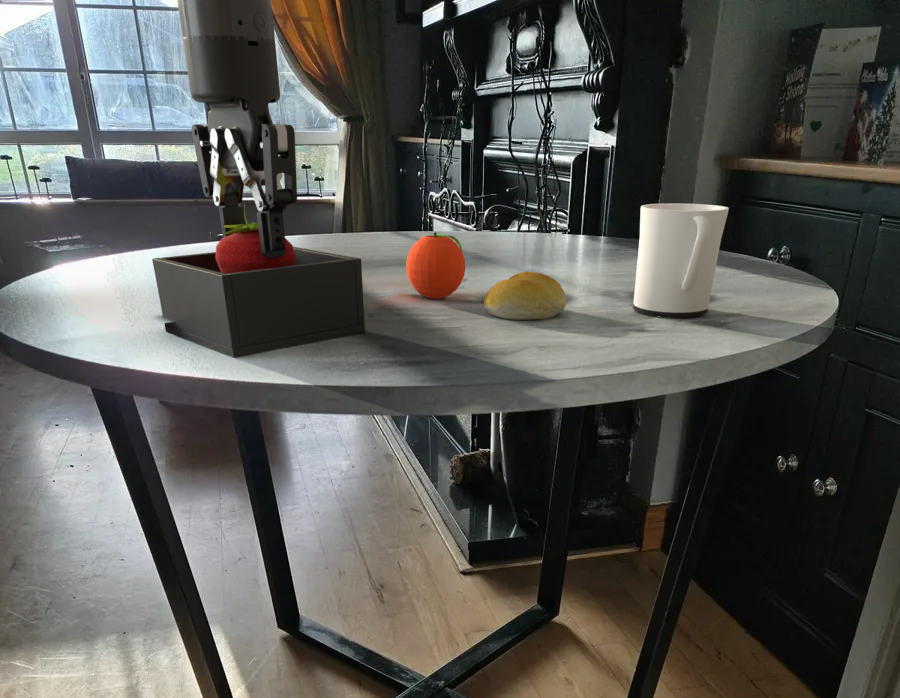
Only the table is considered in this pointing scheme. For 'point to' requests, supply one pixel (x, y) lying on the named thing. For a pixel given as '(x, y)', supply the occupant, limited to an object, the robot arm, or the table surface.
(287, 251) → the strawberry
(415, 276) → the clementine
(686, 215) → the mug
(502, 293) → the bread roll
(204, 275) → the open box
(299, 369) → the table surface
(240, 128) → the robot arm
